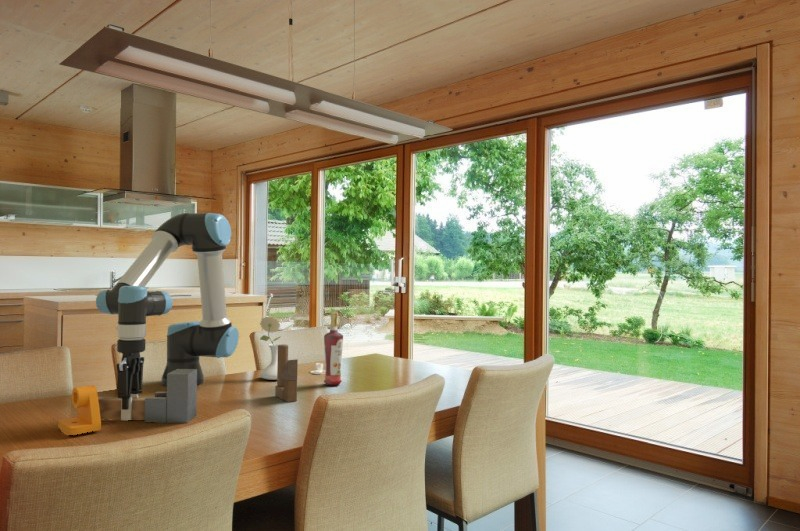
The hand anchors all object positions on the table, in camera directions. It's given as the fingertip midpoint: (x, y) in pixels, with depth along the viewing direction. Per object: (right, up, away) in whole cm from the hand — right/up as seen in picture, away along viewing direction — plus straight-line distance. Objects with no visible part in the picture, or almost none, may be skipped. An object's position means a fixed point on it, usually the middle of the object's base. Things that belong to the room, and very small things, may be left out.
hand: (129, 418), depth 168 cm
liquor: (+54, -1, +52) cm, 75 cm away
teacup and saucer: (+42, -1, +75) cm, 86 cm away
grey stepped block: (+12, 0, +1) cm, 12 cm away
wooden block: (+40, -1, +28) cm, 49 cm away
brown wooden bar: (0, 0, 0) cm, 0 cm away
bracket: (-8, 0, -13) cm, 15 cm away
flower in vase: (+28, -1, +61) cm, 67 cm away
